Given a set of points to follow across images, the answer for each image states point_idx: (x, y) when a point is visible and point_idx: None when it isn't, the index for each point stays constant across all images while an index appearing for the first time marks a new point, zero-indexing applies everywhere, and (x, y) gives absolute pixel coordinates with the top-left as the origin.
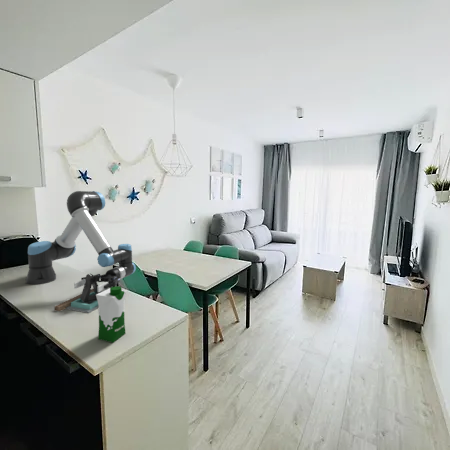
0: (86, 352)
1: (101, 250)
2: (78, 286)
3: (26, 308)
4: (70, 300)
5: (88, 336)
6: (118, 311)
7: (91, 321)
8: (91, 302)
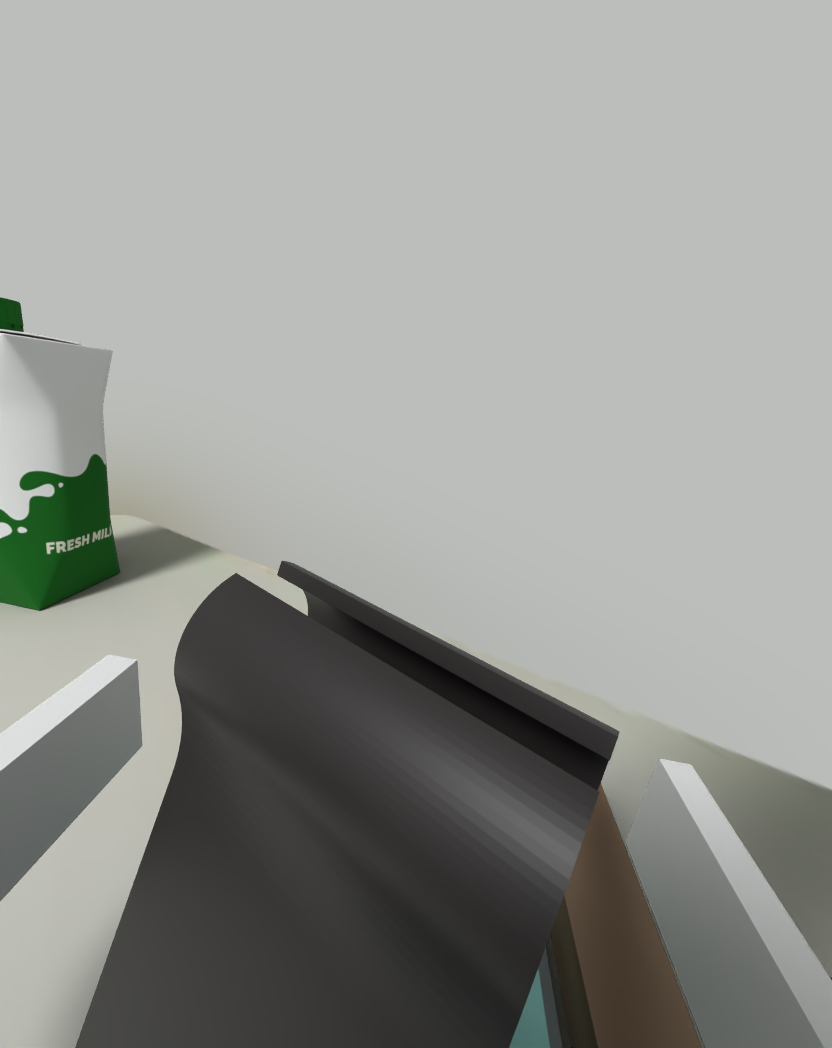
0: (160, 539)
1: None
2: (665, 915)
3: (821, 805)
4: (623, 953)
5: (170, 585)
6: None
7: None
8: None
